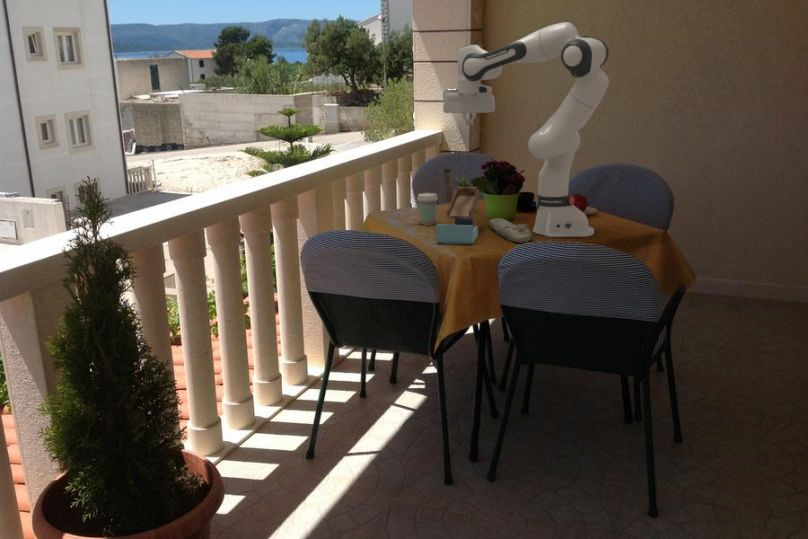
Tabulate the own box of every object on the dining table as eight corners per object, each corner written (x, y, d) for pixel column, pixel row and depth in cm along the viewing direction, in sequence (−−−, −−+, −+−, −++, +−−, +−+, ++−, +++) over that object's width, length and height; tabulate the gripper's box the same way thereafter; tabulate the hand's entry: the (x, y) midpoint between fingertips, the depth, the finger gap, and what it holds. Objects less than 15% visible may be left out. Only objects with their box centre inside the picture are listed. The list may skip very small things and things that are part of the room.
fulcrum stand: (478, 230, 283) (478, 206, 280) (475, 233, 277) (475, 209, 275) (452, 229, 285) (452, 206, 283) (449, 233, 280) (449, 209, 277)
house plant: (440, 212, 319) (439, 174, 315) (463, 207, 327) (463, 171, 323) (461, 216, 308) (461, 178, 304) (485, 212, 316) (485, 174, 312)
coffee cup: (436, 226, 292) (436, 196, 289) (415, 225, 294) (415, 196, 291) (439, 221, 300) (439, 192, 297) (419, 221, 302) (418, 192, 299)
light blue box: (477, 236, 273) (477, 218, 271) (472, 245, 261) (472, 225, 259) (443, 235, 276) (443, 217, 274) (436, 243, 264) (436, 224, 262)
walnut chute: (479, 201, 286) (477, 158, 277) (471, 223, 269) (469, 178, 261) (450, 200, 289) (448, 158, 280) (440, 222, 272) (438, 178, 264)
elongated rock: (506, 227, 294) (482, 230, 293) (505, 214, 293) (481, 217, 291) (539, 242, 261) (512, 245, 259) (538, 227, 260) (512, 231, 258)
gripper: (441, 89, 284) (441, 125, 288) (493, 88, 279) (493, 125, 283) (444, 88, 290) (444, 124, 294) (495, 87, 285) (495, 123, 289)
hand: (469, 124), depth 288 cm, fingers closed
